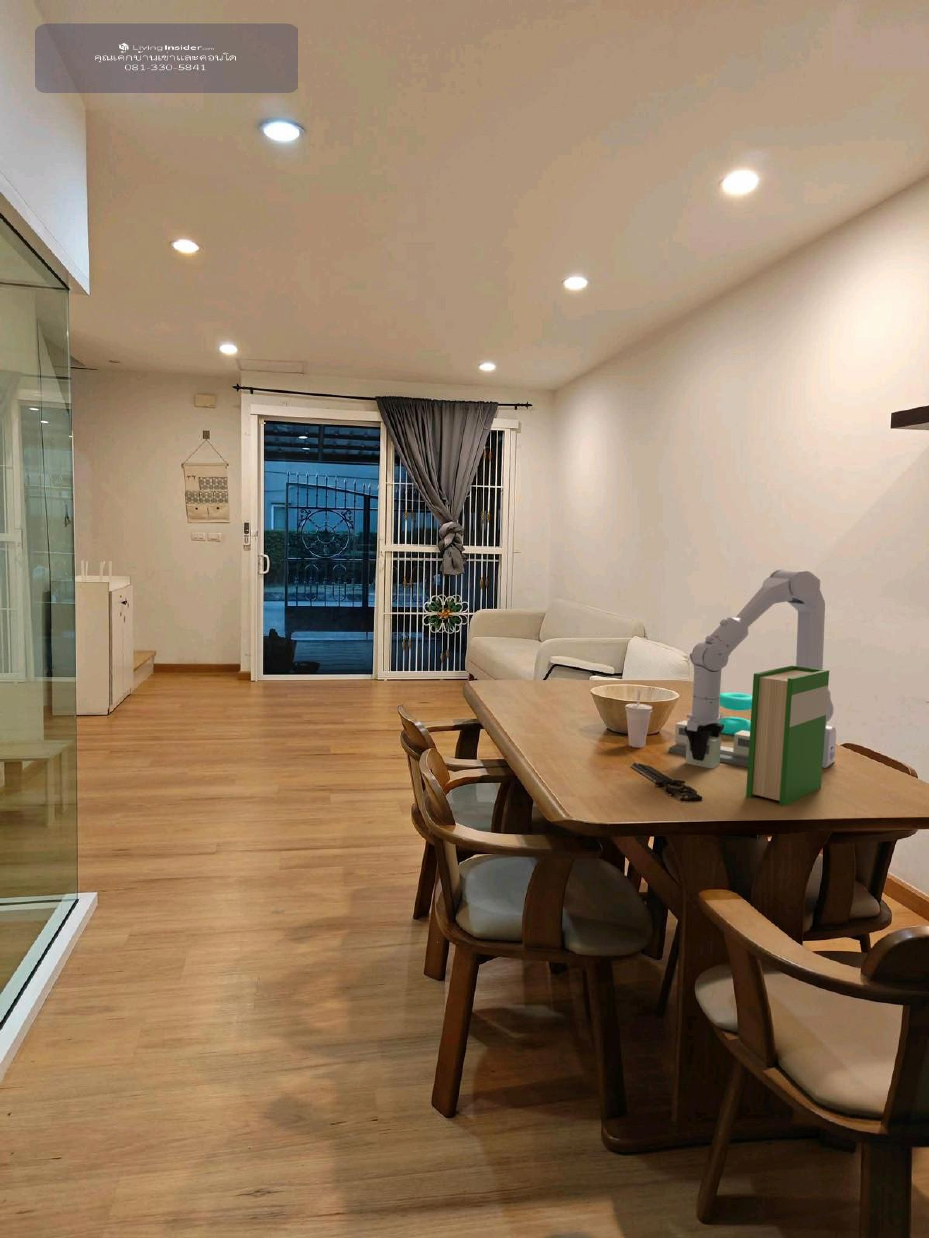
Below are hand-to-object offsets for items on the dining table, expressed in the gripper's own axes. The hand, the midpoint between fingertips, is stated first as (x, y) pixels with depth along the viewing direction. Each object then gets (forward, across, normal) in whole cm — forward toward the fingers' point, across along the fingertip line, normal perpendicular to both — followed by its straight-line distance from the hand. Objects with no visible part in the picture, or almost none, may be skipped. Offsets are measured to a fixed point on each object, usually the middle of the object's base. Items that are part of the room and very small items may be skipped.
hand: (702, 757), depth 168 cm
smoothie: (+2, -4, -18) cm, 19 cm away
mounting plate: (+1, -10, 0) cm, 10 cm away
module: (+1, 0, 0) cm, 1 cm away
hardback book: (+2, +8, +20) cm, 22 cm away
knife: (+2, +19, -1) cm, 19 cm away
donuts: (+2, -36, -6) cm, 37 cm away
